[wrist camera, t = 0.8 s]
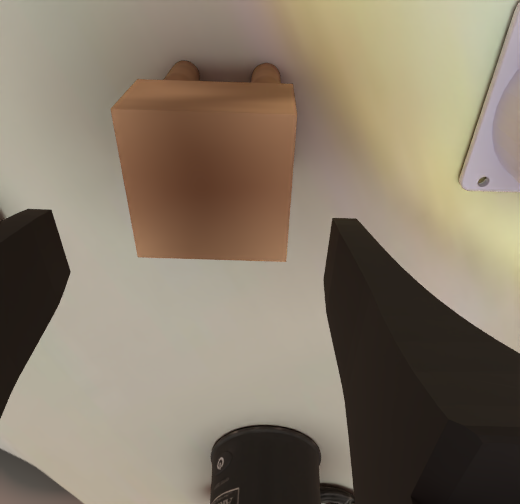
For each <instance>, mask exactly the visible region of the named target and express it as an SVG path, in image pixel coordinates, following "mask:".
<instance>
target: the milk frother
mask: <svg viewBox="0 0 520 504" xmlns="http://www.w3.org/2000/svg"><path fill="white" fill-rule="evenodd" d="M211 462H212V484H211V498H210V504H321V503H326V502H330V504H355V501H354V496H353V495H352V494H350V493H348V492H346V491H344V490H341V489H338V488H333V487H321V488H320V480H319V465H320V462H321V453H320V450H319V448H318V446H317V445H316V444H315V443H314V442H313V441H312V440H311V439H309V438H308V437H306V436H305V435H303V434H301V433H298V432H296V431H293V430H290V429H286V428H279V427H266V426H259V427H250V428H244V429H240V430H237V431H234V432H231V433H230V434H228V435H226V436H224V437H223V438H221V439H220V440H219V441H218V442H217V443H216V444H215V445H214V447H213V449H212V452H211Z"/></svg>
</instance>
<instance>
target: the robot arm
mask: <svg viewBox="0 0 520 504" xmlns="http://www.w3.org/2000/svg"><path fill="white" fill-rule="evenodd" d="M482 177H486V179H485V180H484V181H483V182H481V183H478V181H479V179H481V178H482ZM459 183H460V185H461V186H462V188H464V189H465V190H469V191H498V192H520V3H519V4H518V5H517V7H516V9H515V12H514V15H513V18H512V21H511V24H510V27H509V30H508V33H507V36H506V39H505V42H504V45H503V48H502V51H501V54H500V57H499V60H498V63H497V66H496V69H495V72H494V75H493V78H492V81H491V84H490V87H489V90H488V93H487V96H486V99H485V102H484V105H483V108H482V111H481V114H480V117H479V120H478V123H477V126H476V129H475V132H474V135H473V138H472V141H471V145H470V148H469V151H468V154H467V157H466V160H465V163H464V166H463V169H462V172H461V175H460V178H459ZM69 275H70V269H69V265H68V262H67V259H66V256H65V252H64V249H63V246H62V243H61V239H60V236H59V233H58V230H57V226H56V223H55V220H54V217H53V214H52V210H42V209H27V210H24V211H22V212H19V213H17V214H15V215H13V216H11V217H9V218H7V219H5V220H3V221H1V222H0V418H1V416H2V413H3V411H4V409H5V406H6V404H7V401H8V399H9V397H10V394H11V392H12V390H13V388H14V386H15V384H16V382H17V380H18V378H19V376H20V374H21V372H22V371H23V369H24V367H25V365H26V363H27V362H28V360H29V358H30V356H31V354H32V353H33V351H34V349H35V347H36V345H37V344H38V342H39V340H40V338H41V336H42V335H43V333H44V331H45V329H46V327H47V326H48V324H49V322H50V320H51V318H52V316H53V315H54V313H55V311H56V309H57V307H58V305H59V303H60V300H61V297H62V295H63V292H64V290H65V287H66V284H67V281H68V278H69ZM324 291H325V303H326V313H327V318H328V323H329V328H330V332H331V337H332V342H333V346H334V351H335V355H336V360H337V365H338V369H339V374H340V378H341V383H342V388H343V394H344V400H345V408H346V417H347V426H348V435H349V445H350V456H351V466H352V477H353V488H354V501H355V504H520V353H518V352H516V351H514V350H513V349H511V348H509V347H508V346H506V345H504V344H502V343H501V342H499V341H498V340H496V339H494V338H493V337H491V336H490V335H488V334H487V333H485V332H483V331H482V330H480V329H479V328H477V327H476V326H474V325H473V324H471V323H470V322H468V321H467V320H465V319H464V318H462V317H461V316H460V315H458V314H457V313H456V312H454V311H453V310H452V309H450V308H449V307H448V306H446V305H445V304H444V303H442V302H441V301H440V300H438V299H437V298H436V297H435V296H433V295H432V294H431V293H430V292H429V291H427V290H426V289H425V288H424V287H423V286H422V285H421V284H419V283H418V282H417V281H416V280H415V279H414V278H413V277H412V276H411V275H409V274H408V273H407V272H406V271H405V270H404V269H403V268H402V267H401V266H400V265H399V264H398V263H397V262H396V261H395V260H394V259H393V258H392V257H391V256H390V255H389V254H388V253H387V252H386V251H385V250H384V249H383V247H382V246H381V245H380V244H379V243H378V242H377V241H376V240H375V239H374V238H373V236H372V235H371V234H370V233H369V232H368V231H367V230H366V229H365V228H364V226H363V225H362V224H361V223H360V222H359V221H358V220H357V219H348V218H333V219H332V226H331V232H330V239H329V246H328V253H327V260H326V267H325V274H324Z"/></svg>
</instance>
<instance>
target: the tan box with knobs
mask: <svg viewBox="0 0 520 504" xmlns="http://www.w3.org/2000/svg"><path fill="white" fill-rule="evenodd" d="M199 79H200V75H199V71H198V69H197V68H196V66H195V65H194V64H192V63H191V62H189V61H179V62H177V63H176V64H175V65H174V66H173V67H172V69H171V70H170V72H169V73H168V74H167V76H166V77H165V79H164V80H146V79H137V80H136V81H135V82H134V84H133V85H132V86H131V87H130V88H129V89H128V90H127V91H126V92H125V94H124V95H123V96H122V97H121V98H120V99H119V100H118V101H117V102H116V104H115V105H114V106H113V107H112V108H111V114H112V119H113V125H114V130H115V136H116V141H117V146H118V152H119V157H120V163H121V168H122V174H123V179H124V185H125V190H126V195H127V201H128V206H129V212H130V217H131V223H132V228H133V233H134V239H135V244H136V250H137V255H138V257H149V258H181V259H214V260H246V261H279V262H286V256H287V243H288V229H289V216H290V203H291V189H292V176H293V163H294V149H295V136H296V123H297V110H296V103H295V96H294V89H293V84H281V80H280V73H279V71H278V69H277V68H276V67H275V66H274V65H272V64H269V63H263V64H260V65H258V66H257V67H256V68H255V69H254V71H253V74H252V80H251V83H247V82H213V81H199Z"/></svg>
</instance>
